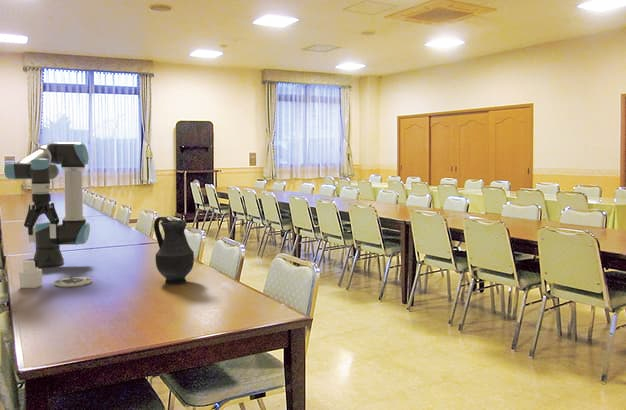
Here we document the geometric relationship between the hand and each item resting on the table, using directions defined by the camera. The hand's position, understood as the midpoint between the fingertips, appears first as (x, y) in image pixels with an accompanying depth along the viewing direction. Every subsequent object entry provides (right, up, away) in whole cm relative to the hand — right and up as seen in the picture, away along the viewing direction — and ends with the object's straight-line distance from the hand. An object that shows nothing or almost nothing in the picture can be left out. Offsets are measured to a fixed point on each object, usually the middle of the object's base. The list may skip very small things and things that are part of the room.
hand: (42, 240), depth 262 cm
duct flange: (+12, -20, +3) cm, 24 cm away
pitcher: (+57, -20, +7) cm, 60 cm away
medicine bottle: (-4, -21, -3) cm, 21 cm away
